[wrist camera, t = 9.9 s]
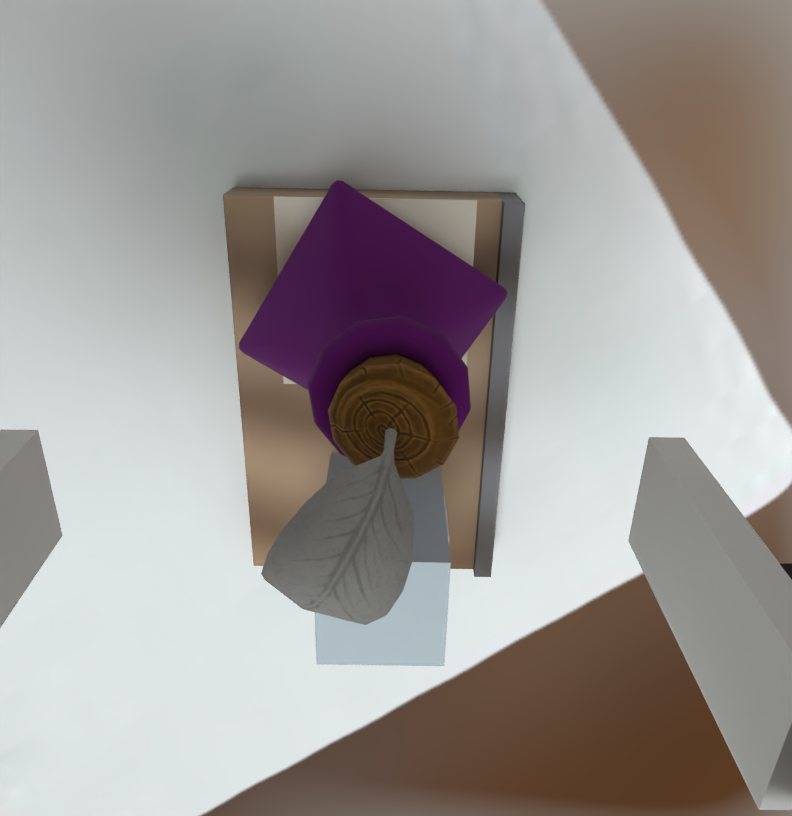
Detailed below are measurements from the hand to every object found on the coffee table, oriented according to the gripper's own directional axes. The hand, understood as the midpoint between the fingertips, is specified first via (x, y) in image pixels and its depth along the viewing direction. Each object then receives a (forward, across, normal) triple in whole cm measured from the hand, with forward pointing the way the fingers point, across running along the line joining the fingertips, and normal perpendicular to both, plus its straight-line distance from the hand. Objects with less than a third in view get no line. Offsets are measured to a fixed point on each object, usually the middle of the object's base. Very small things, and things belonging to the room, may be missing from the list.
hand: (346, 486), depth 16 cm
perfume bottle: (+16, 0, -1) cm, 16 cm away
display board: (+18, 0, -6) cm, 18 cm away
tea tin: (+15, +1, -11) cm, 19 cm away
